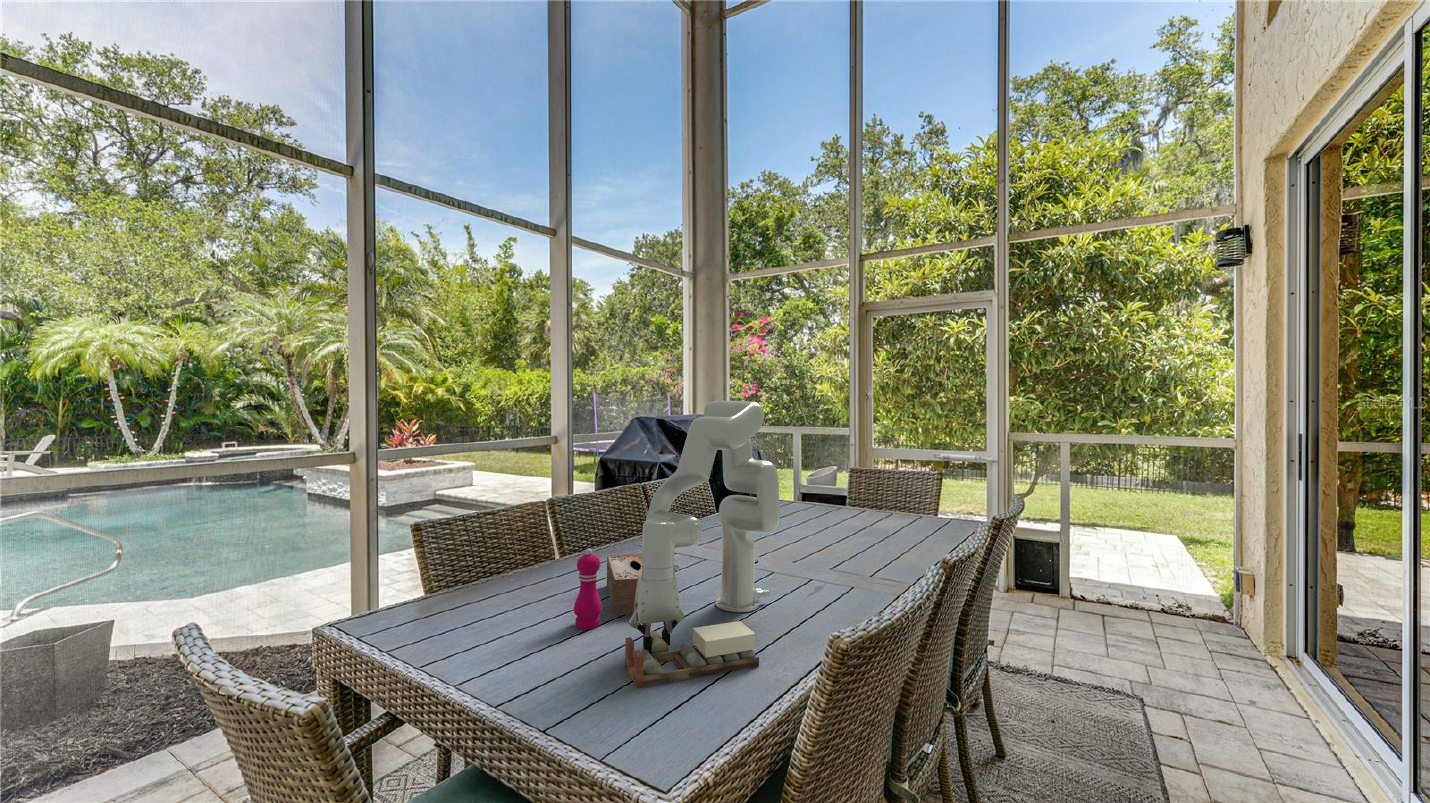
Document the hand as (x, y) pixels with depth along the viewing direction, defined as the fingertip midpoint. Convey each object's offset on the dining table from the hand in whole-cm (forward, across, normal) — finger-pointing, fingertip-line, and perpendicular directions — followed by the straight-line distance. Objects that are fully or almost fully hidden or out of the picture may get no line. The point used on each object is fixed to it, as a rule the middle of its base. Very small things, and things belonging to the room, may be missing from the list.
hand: (656, 649), depth 141 cm
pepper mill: (+1, +12, -22) cm, 25 cm away
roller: (-1, 0, 0) cm, 1 cm away
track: (0, -5, +10) cm, 12 cm away
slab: (-3, -12, +10) cm, 17 cm away
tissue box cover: (+1, -5, -38) cm, 38 cm away
